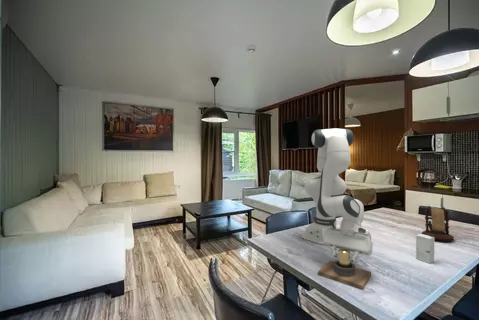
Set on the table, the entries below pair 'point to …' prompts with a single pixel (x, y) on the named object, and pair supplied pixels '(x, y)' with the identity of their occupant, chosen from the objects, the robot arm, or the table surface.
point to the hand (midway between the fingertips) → (343, 258)
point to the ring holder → (345, 274)
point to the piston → (344, 258)
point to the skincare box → (425, 248)
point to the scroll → (438, 224)
